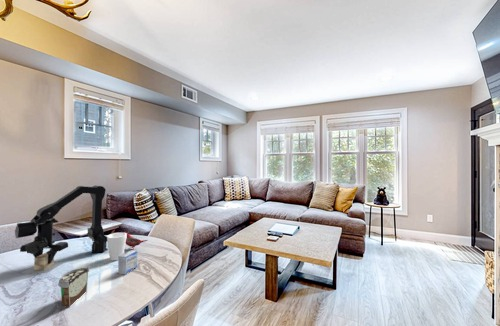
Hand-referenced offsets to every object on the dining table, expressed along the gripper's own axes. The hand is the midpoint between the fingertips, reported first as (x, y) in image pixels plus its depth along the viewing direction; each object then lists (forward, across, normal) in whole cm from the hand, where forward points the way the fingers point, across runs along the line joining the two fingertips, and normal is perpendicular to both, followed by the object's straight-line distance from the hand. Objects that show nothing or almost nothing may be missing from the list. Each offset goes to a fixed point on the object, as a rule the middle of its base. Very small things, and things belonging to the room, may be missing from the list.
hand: (44, 263), depth 110 cm
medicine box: (+2, +43, -5) cm, 43 cm away
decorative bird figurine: (+2, +34, +23) cm, 41 cm away
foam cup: (+2, +30, +10) cm, 32 cm away
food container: (+2, +32, -28) cm, 43 cm away
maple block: (+2, 0, 0) cm, 2 cm away
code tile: (+2, 0, 0) cm, 2 cm away
